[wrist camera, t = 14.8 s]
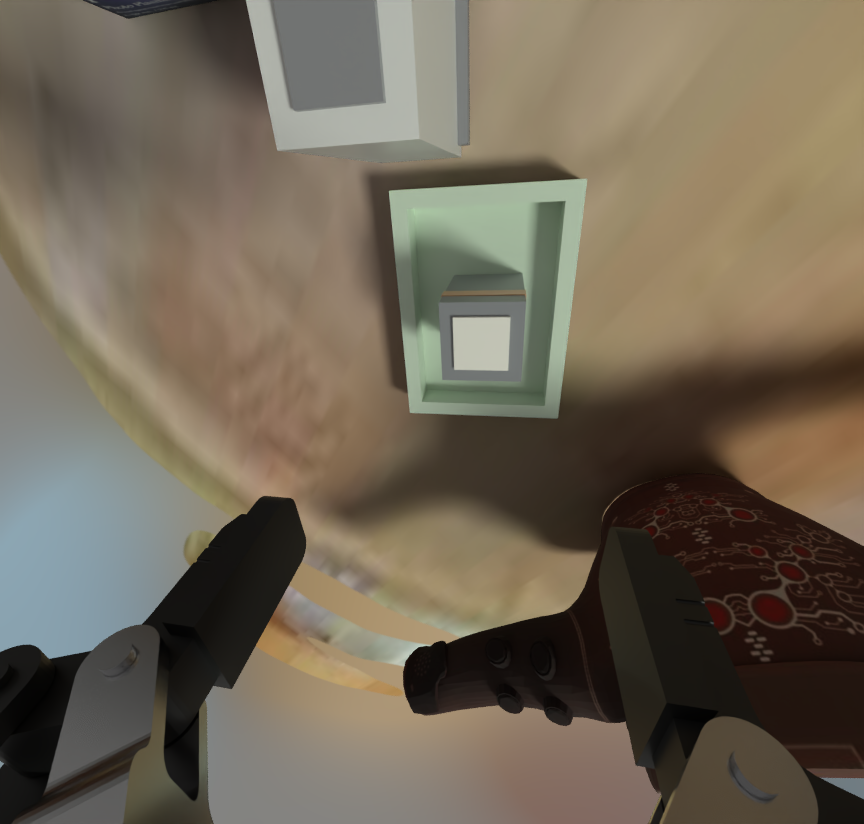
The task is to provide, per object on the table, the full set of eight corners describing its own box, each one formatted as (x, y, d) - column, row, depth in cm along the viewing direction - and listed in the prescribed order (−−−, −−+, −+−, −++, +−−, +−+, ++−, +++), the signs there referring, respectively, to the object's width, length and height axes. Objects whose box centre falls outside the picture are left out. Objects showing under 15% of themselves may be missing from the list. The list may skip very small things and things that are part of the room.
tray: (580, 178, 23) (587, 178, 21) (554, 401, 31) (557, 418, 29) (399, 189, 25) (388, 190, 23) (416, 397, 33) (410, 412, 31)
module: (523, 272, 26) (527, 301, 20) (519, 339, 28) (522, 384, 22) (453, 274, 27) (436, 302, 21) (455, 339, 29) (440, 382, 23)
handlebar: (464, 589, 44) (436, 844, 27) (411, 508, 39) (336, 759, 22) (1031, 494, 28) (1815, 969, 11) (1062, 337, 23) (2538, 765, 6)
